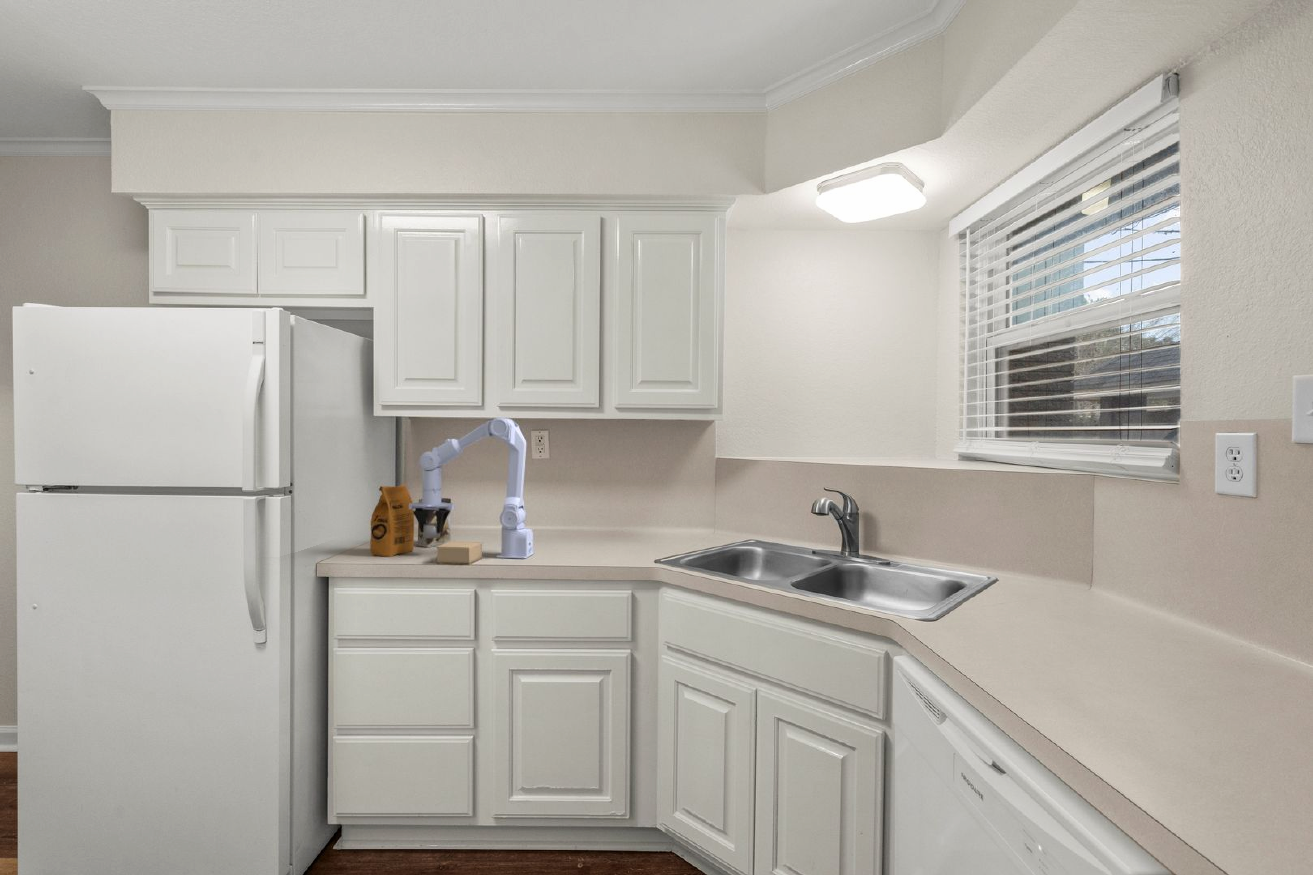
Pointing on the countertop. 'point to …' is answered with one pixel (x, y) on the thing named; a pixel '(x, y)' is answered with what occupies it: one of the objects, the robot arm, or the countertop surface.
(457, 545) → the lid
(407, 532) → the coffee package
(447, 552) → the box
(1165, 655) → the countertop surface
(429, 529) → the grey rounded cylinder
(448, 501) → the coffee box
